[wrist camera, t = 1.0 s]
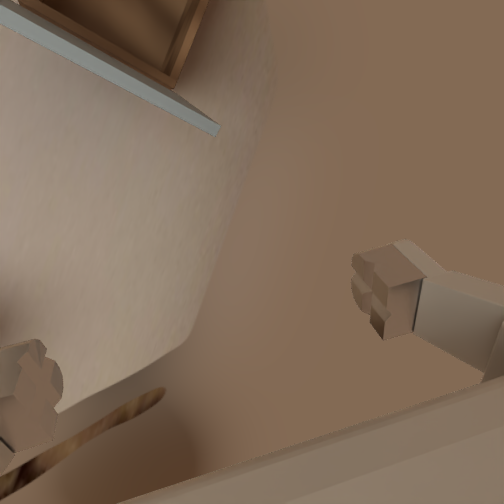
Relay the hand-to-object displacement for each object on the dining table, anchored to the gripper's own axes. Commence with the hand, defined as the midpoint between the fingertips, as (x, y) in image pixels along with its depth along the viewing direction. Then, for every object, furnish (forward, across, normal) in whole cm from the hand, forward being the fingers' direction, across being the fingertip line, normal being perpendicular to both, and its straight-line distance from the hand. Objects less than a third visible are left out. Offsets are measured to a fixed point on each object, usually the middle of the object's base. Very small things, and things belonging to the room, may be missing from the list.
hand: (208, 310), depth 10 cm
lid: (+25, +3, -4) cm, 26 cm away
